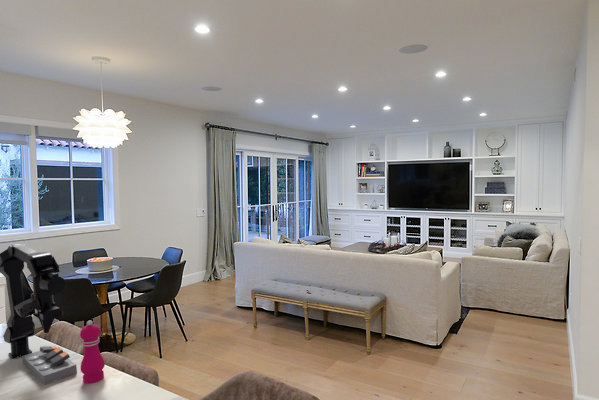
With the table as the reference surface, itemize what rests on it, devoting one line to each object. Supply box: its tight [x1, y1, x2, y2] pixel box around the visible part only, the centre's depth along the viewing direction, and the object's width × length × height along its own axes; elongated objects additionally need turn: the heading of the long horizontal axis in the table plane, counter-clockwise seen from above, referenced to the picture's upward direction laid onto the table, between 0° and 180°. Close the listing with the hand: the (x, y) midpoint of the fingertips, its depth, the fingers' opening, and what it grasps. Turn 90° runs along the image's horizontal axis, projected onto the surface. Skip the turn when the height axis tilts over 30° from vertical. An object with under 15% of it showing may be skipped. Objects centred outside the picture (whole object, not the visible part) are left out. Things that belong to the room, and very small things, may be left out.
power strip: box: [21, 350, 78, 386], centre depth 143 cm, size 24×10×3 cm, turn 49°
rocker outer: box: [50, 351, 71, 366], centre depth 141 cm, size 4×5×2 cm
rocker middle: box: [44, 347, 64, 361], centre depth 144 cm, size 4×5×2 cm
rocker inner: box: [39, 345, 58, 353], centre depth 149 cm, size 4×5×2 cm
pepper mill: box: [79, 320, 106, 384], centre depth 134 cm, size 7×7×20 cm
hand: (46, 332), depth 143 cm, fingers closed
